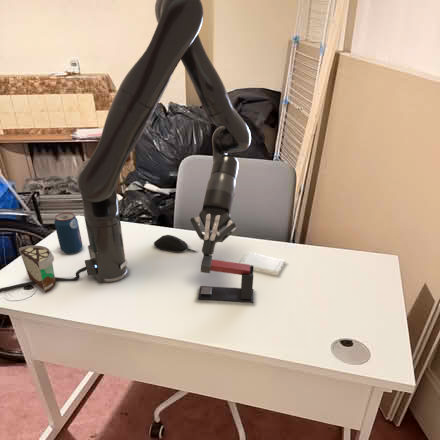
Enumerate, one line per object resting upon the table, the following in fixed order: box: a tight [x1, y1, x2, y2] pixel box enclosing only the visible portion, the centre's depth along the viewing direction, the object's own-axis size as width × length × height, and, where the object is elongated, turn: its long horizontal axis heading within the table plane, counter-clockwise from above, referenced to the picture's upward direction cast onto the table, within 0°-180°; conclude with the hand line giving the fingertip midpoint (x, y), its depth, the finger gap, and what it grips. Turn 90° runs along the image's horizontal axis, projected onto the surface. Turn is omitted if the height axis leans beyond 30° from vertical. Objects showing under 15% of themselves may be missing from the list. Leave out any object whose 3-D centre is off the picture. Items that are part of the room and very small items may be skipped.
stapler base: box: [197, 265, 254, 304], centre depth 107 cm, size 15×6×9 cm, turn 86°
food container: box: [18, 245, 57, 293], centre depth 111 cm, size 12×6×10 cm, turn 47°
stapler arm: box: [200, 254, 250, 276], centre depth 104 cm, size 13×6×2 cm, turn 86°
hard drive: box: [239, 251, 286, 276], centre depth 123 cm, size 2×8×12 cm
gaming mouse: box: [153, 234, 196, 253], centre depth 131 cm, size 6×15×4 cm, turn 70°
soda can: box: [53, 212, 84, 255], centre depth 126 cm, size 7×7×12 cm
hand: (206, 255), depth 103 cm, fingers closed
